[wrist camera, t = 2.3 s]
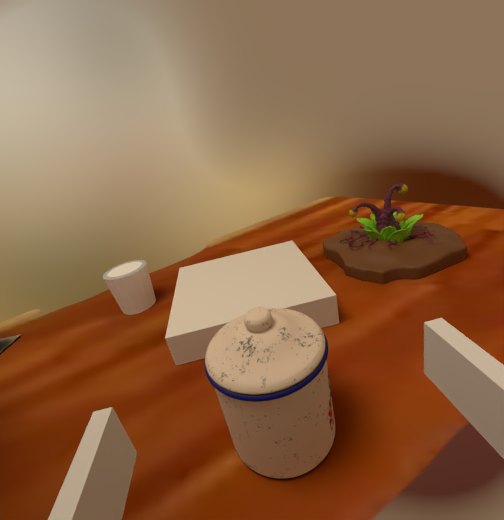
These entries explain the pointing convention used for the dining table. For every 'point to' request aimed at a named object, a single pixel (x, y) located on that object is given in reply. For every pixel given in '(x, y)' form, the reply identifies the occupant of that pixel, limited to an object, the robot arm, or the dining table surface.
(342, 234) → the plant
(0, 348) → the condiment
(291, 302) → the plinth
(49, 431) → the dining table surface
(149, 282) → the white cup
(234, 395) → the teacup with lid
